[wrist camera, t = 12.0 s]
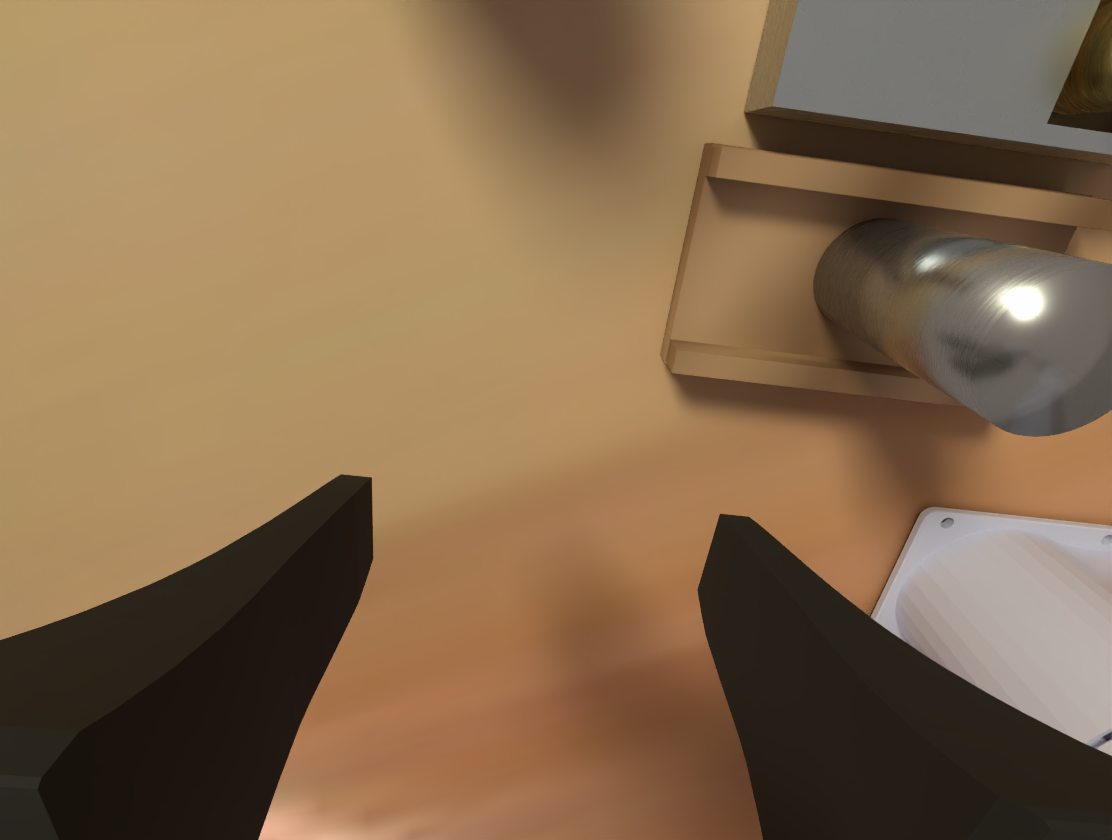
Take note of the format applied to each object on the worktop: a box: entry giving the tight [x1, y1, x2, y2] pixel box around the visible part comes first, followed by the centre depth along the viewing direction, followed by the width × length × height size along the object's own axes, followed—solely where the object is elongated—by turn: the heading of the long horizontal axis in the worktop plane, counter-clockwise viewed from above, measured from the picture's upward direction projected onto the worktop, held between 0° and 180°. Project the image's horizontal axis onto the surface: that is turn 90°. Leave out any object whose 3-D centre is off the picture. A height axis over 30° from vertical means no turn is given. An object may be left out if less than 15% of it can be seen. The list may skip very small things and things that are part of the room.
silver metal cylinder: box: [813, 218, 1112, 437], centre depth 15 cm, size 4×4×8 cm
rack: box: [660, 143, 1112, 408], centre depth 19 cm, size 12×7×2 cm, turn 83°
